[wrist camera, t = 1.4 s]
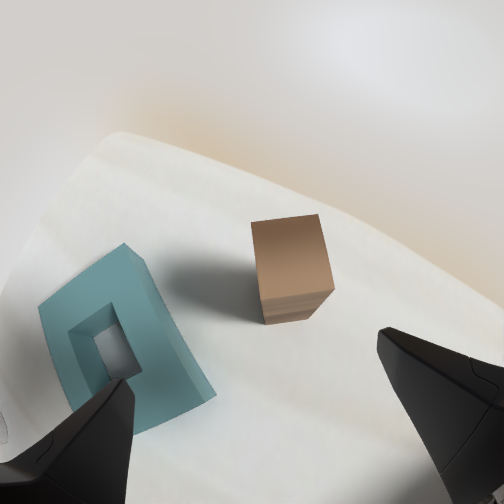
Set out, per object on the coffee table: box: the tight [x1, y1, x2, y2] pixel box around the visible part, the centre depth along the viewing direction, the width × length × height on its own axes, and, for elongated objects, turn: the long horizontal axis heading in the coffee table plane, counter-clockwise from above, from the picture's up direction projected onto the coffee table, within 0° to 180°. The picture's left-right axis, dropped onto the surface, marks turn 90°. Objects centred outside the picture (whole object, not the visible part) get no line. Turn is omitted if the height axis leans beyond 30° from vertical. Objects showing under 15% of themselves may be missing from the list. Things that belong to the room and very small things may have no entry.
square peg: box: [251, 214, 335, 325], centre depth 18 cm, size 4×4×10 cm
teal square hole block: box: [38, 243, 217, 435], centre depth 19 cm, size 14×12×4 cm
